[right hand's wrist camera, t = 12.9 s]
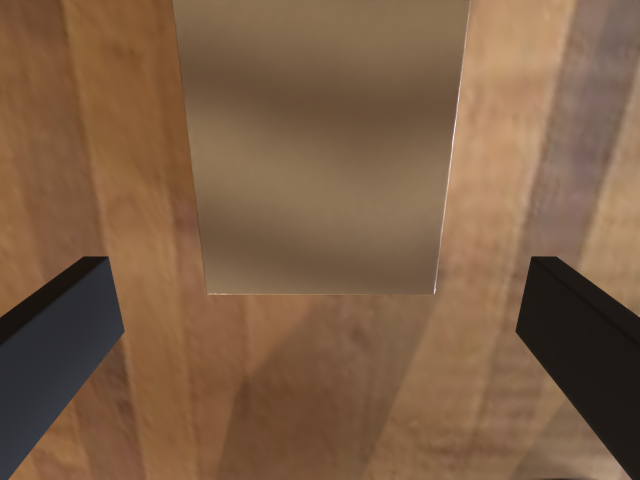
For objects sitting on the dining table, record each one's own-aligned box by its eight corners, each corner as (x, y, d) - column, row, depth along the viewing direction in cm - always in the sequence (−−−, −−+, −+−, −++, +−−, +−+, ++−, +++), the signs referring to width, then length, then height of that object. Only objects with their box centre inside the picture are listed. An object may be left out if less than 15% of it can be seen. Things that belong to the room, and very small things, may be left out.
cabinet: (216, -99, 21) (145, -225, 13) (425, -98, 21) (499, -224, 13) (241, 229, 28) (206, 295, 19) (399, 230, 28) (434, 295, 19)
